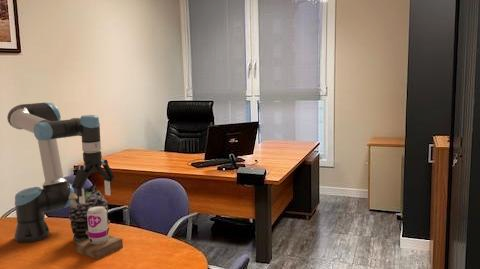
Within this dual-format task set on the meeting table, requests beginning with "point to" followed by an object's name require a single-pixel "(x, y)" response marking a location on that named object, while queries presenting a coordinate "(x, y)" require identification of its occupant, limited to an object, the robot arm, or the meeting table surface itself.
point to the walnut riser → (99, 247)
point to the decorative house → (84, 212)
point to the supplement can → (97, 225)
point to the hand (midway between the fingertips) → (95, 199)
